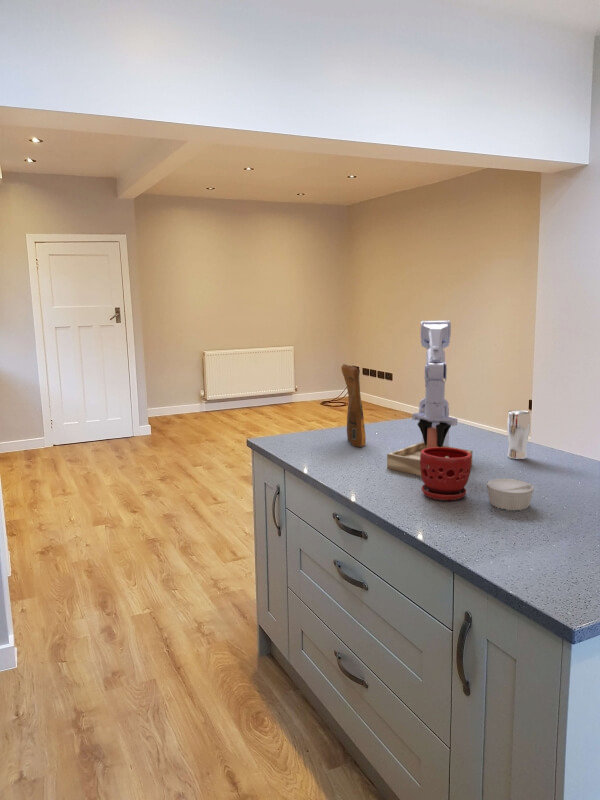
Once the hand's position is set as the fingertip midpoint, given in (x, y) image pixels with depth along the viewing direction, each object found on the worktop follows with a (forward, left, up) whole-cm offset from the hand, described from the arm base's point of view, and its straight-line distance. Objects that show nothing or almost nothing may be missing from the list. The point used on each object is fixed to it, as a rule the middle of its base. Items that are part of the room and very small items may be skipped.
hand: (433, 445), depth 190 cm
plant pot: (+23, +17, -7) cm, 29 cm away
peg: (0, 0, -3) cm, 3 cm away
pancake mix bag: (-8, -37, -7) cm, 38 cm away
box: (+2, 0, -6) cm, 7 cm away
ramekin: (+19, +33, -7) cm, 39 cm away
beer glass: (-25, +16, -7) cm, 30 cm away
